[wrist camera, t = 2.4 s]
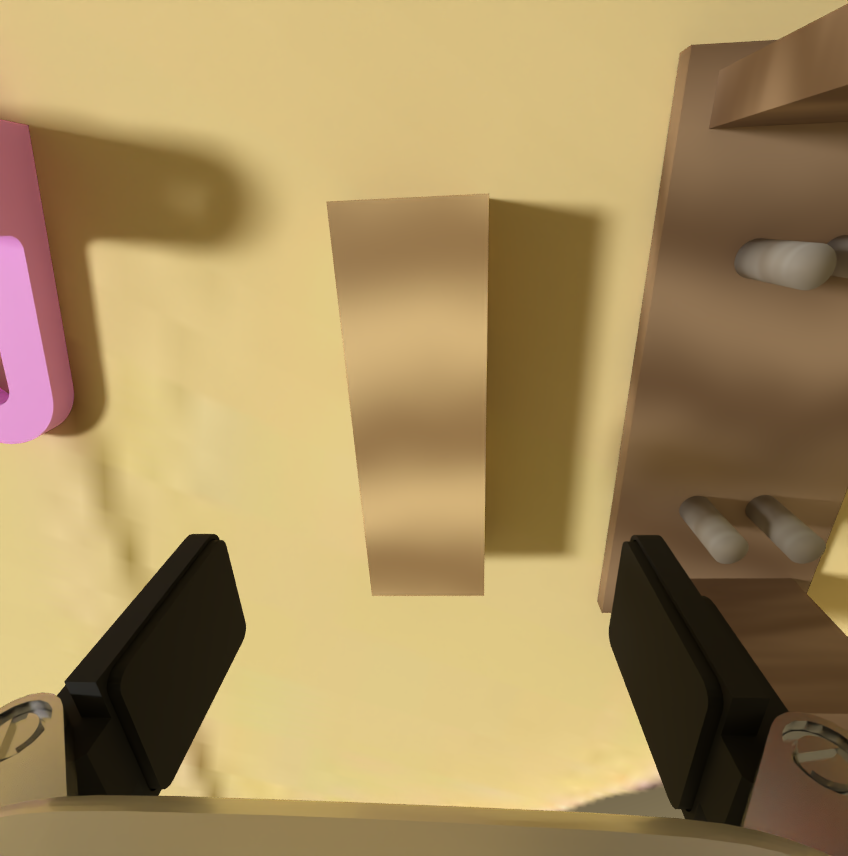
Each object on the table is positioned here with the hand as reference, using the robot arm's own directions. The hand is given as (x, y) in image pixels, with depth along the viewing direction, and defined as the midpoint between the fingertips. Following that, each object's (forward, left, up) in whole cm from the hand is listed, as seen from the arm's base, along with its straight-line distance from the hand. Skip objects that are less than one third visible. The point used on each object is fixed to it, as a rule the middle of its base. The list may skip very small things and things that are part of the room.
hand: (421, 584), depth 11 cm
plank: (0, 0, -11) cm, 11 cm away
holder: (0, +14, -11) cm, 18 cm away
